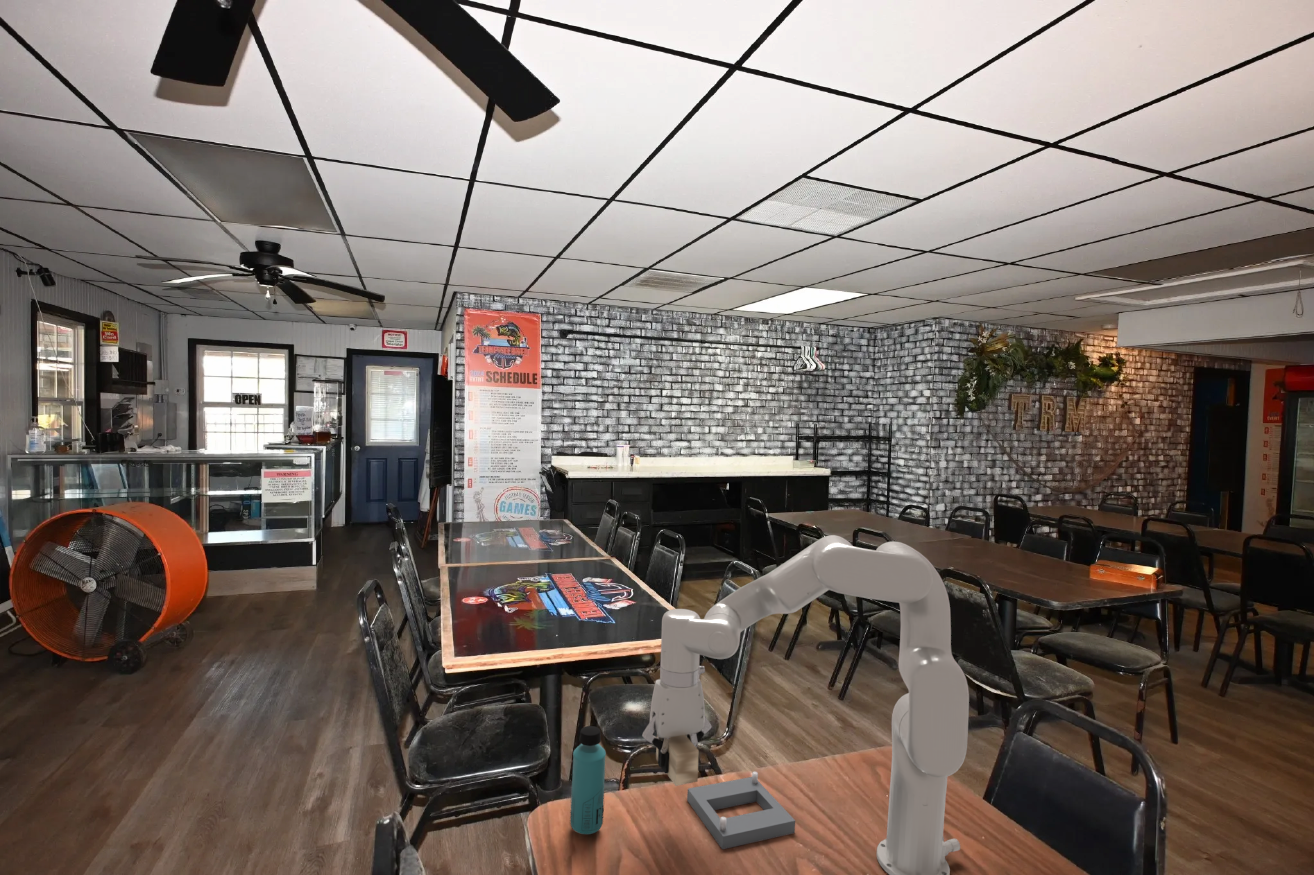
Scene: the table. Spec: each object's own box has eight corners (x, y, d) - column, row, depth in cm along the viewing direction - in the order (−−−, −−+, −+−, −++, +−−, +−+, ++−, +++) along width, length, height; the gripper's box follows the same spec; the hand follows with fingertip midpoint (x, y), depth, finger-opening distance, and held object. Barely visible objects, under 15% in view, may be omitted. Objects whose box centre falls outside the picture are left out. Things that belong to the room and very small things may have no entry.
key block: (676, 755, 131) (677, 726, 131) (697, 781, 122) (698, 750, 122) (656, 758, 129) (656, 729, 129) (675, 786, 120) (676, 754, 120)
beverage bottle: (597, 845, 120) (602, 740, 119) (563, 839, 121) (568, 735, 121) (607, 824, 126) (612, 724, 126) (574, 818, 128) (579, 719, 127)
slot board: (753, 787, 142) (754, 767, 141) (794, 833, 127) (795, 810, 127) (687, 800, 136) (688, 779, 136) (722, 849, 121) (723, 826, 121)
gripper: (709, 663, 132) (706, 750, 132) (632, 672, 125) (629, 764, 126) (727, 677, 125) (723, 770, 125) (645, 688, 118) (642, 785, 119)
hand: (676, 766), depth 126 cm, fingers closed on key block, 4 cm apart
